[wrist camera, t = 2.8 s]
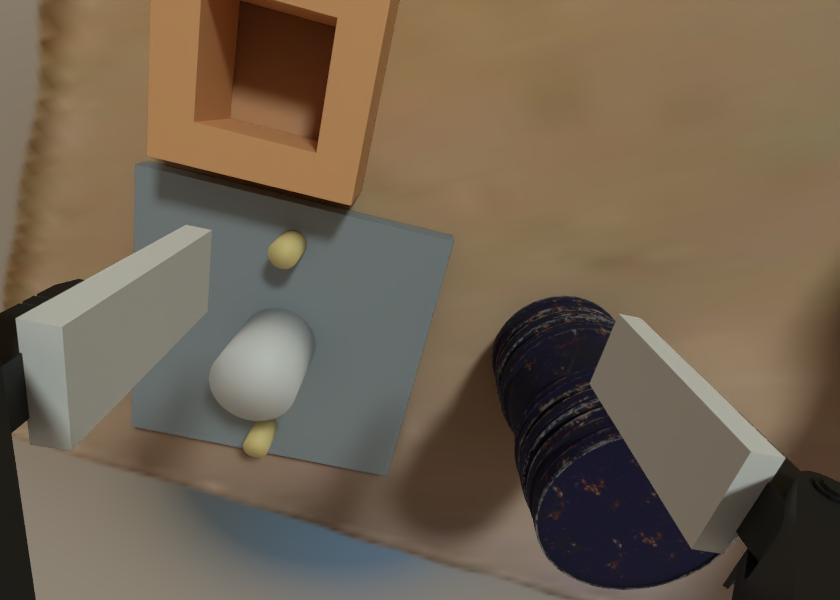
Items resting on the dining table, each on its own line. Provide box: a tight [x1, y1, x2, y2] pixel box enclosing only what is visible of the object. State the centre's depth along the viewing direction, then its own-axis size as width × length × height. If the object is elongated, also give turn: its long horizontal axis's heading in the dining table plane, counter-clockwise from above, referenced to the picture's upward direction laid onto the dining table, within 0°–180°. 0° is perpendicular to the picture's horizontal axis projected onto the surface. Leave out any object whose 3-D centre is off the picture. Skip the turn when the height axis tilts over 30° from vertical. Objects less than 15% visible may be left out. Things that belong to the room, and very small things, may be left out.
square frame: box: [147, 0, 399, 206], centre depth 26 cm, size 11×11×5 cm
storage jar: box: [492, 296, 738, 590], centre depth 29 cm, size 10×10×15 cm
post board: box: [131, 161, 454, 476], centre depth 32 cm, size 20×20×7 cm
